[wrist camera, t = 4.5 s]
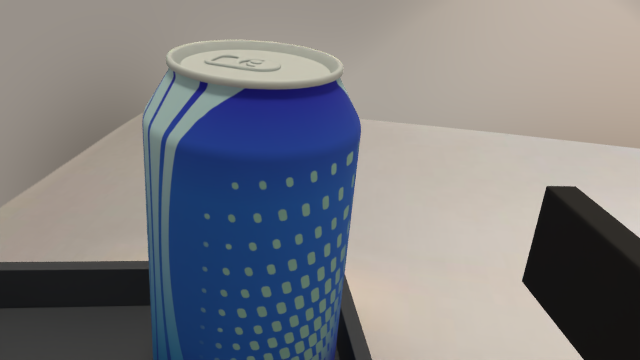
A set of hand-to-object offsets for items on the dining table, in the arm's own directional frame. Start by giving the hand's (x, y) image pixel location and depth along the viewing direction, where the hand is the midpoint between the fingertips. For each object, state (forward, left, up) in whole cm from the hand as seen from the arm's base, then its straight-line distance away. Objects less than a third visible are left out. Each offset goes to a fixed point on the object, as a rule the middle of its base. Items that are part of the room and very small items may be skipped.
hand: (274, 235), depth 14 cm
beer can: (0, +10, -14) cm, 18 cm away
